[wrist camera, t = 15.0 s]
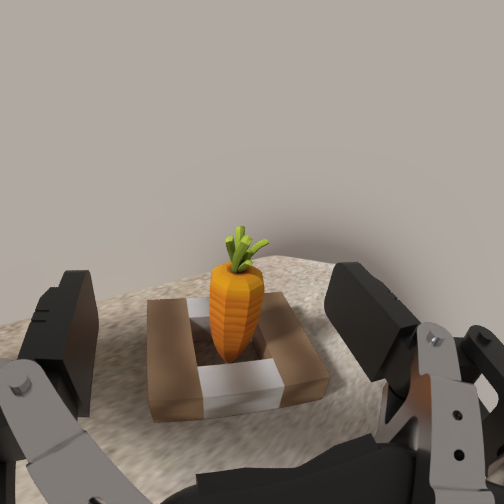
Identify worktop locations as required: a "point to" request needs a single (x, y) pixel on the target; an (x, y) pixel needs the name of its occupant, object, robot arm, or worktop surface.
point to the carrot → (236, 297)
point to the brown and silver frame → (228, 375)
